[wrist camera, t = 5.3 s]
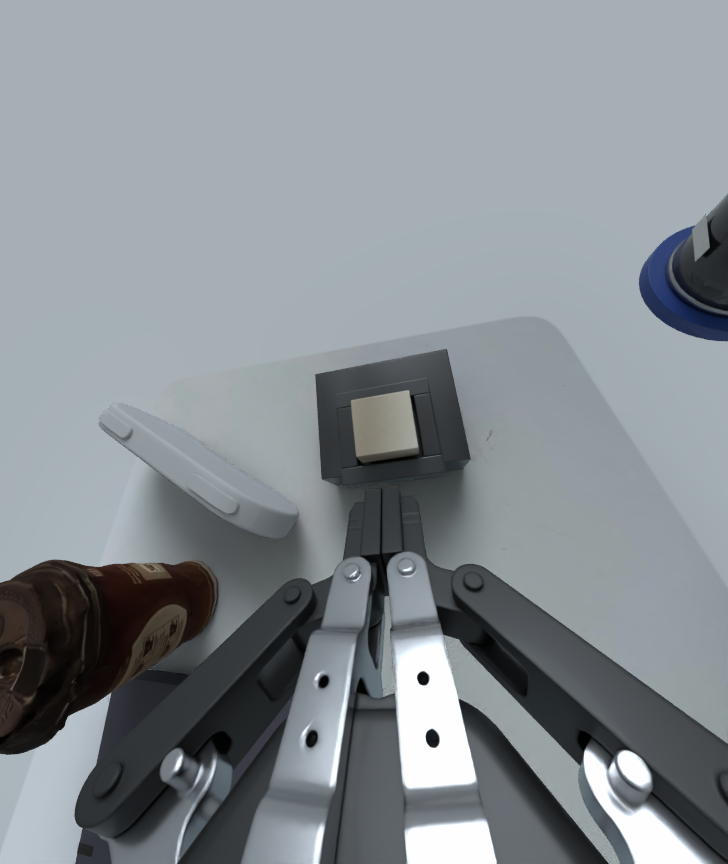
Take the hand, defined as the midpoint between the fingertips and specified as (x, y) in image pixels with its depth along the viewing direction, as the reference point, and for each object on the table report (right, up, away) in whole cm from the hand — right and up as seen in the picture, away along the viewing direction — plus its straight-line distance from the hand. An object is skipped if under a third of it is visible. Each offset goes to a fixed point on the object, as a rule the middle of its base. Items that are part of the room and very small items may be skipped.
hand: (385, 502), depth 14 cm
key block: (+2, +4, +14) cm, 14 cm away
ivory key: (+1, +3, +8) cm, 9 cm away
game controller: (-14, -1, +16) cm, 21 cm away
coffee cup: (-16, -12, +13) cm, 24 cm away
